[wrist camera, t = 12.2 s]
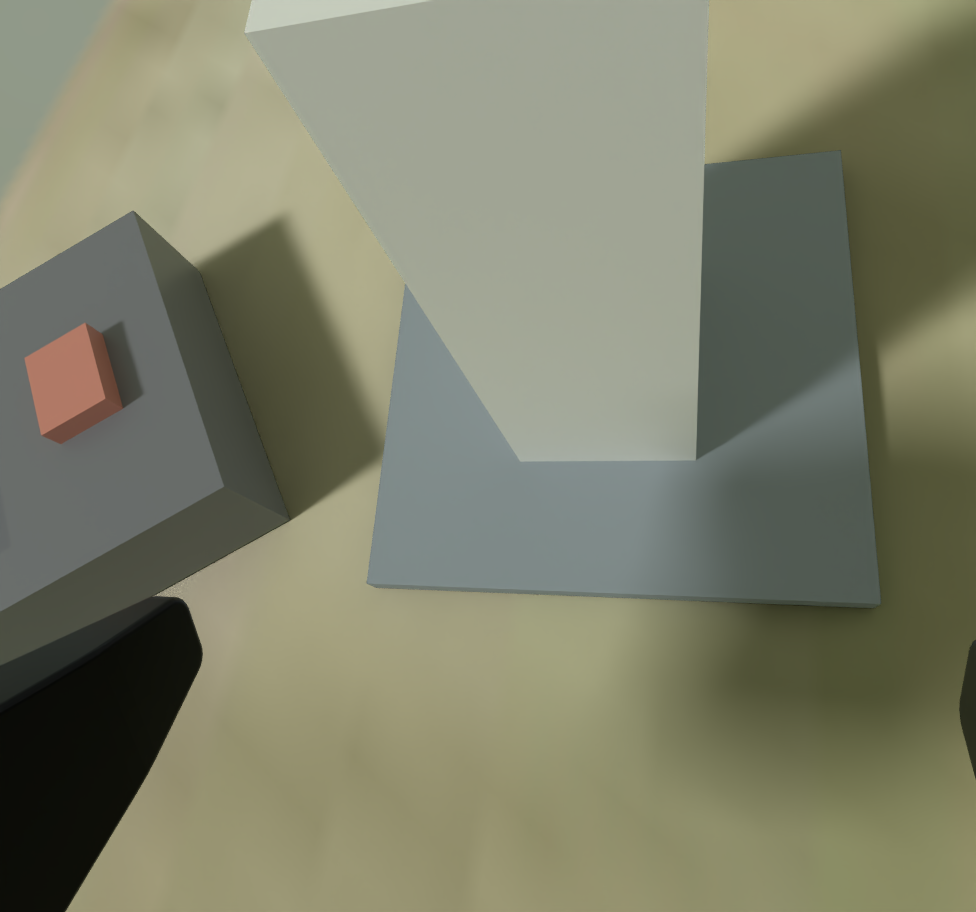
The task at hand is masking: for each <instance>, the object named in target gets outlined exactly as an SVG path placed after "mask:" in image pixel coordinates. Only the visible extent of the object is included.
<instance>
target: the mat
mask: <svg viewBox="0 0 976 912" xmlns="http://www.w3.org/2000/svg"><path fill="white" fill-rule="evenodd" d="M367 584H369V585H371V586H374V587H376V588H396V589H420V590H444V591H469V592H493V593H517V594H542V595H566V596H591V597H615V598H639V599H664V600H688V601H712V602H737V603H761V604H786V605H810V606H834V607H859V608H875V607H877V606H879V605H880V604H881V596H880V585H879V573H878V562H877V551H876V540H875V528H874V517H873V506H872V495H871V484H870V472H869V461H868V450H867V439H866V428H865V416H864V405H863V394H862V383H861V371H860V360H859V349H858V338H857V327H856V315H855V304H854V293H853V282H852V271H851V259H850V248H849V237H848V226H847V214H846V203H845V192H844V181H843V170H842V158H841V150H838V151H829V152H819V153H809V154H800V155H790V156H780V157H771V158H761V159H751V160H742V161H732V162H722V163H713V164H704V193H703V229H702V264H701V299H700V334H699V369H698V404H697V439H696V460H683V461H532V462H520V461H519V459H518V457H517V456H516V454H515V453H514V451H513V450H512V448H511V447H510V445H509V443H508V442H507V440H506V439H505V437H504V436H503V434H502V433H501V431H500V429H499V428H498V426H497V425H496V423H495V422H494V420H493V419H492V417H491V415H490V414H489V412H488V411H487V409H486V408H485V406H484V405H483V403H482V401H481V400H480V398H479V397H478V395H477V394H476V392H475V391H474V389H473V388H472V386H471V384H470V383H469V381H468V380H467V378H466V377H465V375H464V374H463V372H462V370H461V369H460V367H459V366H458V364H457V363H456V361H455V360H454V358H453V356H452V355H451V353H450V352H449V350H448V349H447V347H446V346H445V344H444V342H443V341H442V339H441V338H440V336H439V335H438V333H437V332H436V330H435V329H434V327H433V325H432V324H431V322H430V321H429V319H428V318H427V316H426V315H425V313H424V311H423V310H422V308H421V307H420V305H419V304H418V302H417V301H416V299H415V297H414V296H413V294H412V293H411V291H410V290H409V288H408V287H407V285H406V283H405V290H404V298H403V306H402V314H401V321H400V329H399V337H398V345H397V352H396V360H395V368H394V376H393V383H392V391H391V399H390V407H389V414H388V422H387V430H386V438H385V445H384V453H383V461H382V469H381V477H380V484H379V492H378V500H377V508H376V515H375V523H374V531H373V539H372V546H371V554H370V562H369V570H368V577H367Z"/></svg>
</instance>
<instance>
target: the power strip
mask: <svg viewBox="0 0 976 912" xmlns="http://www.w3.org/2000/svg"><path fill="white" fill-rule="evenodd" d="M289 520H290V519H289V516H288V513H287V511H286V508H285V505H284V502H283V500H282V497H281V494H280V491H279V489H278V486H277V483H276V480H275V478H274V475H273V472H272V469H271V467H270V464H269V461H268V458H267V456H266V453H265V450H264V447H263V445H262V442H261V439H260V436H259V434H258V431H257V428H256V425H255V423H254V420H253V417H252V414H251V412H250V409H249V406H248V403H247V401H246V398H245V395H244V393H243V390H242V387H241V384H240V382H239V379H238V376H237V373H236V371H235V368H234V365H233V362H232V360H231V357H230V354H229V351H228V349H227V346H226V343H225V340H224V338H223V335H222V332H221V329H220V327H219V324H218V321H217V318H216V316H215V313H214V310H213V307H212V305H211V302H210V299H209V296H208V294H207V291H206V288H205V285H204V283H203V280H202V277H201V274H200V272H199V271H198V270H197V269H196V268H195V267H194V266H193V265H192V264H191V263H190V262H189V261H188V260H186V259H185V258H184V257H183V256H182V255H181V254H180V253H179V252H178V251H177V250H176V249H175V248H173V247H172V246H171V245H170V244H169V243H168V242H167V241H166V240H165V239H164V238H163V237H162V236H160V235H159V234H158V233H157V232H156V231H155V230H154V229H153V228H152V227H151V226H150V225H149V224H147V223H146V222H145V221H144V220H143V219H142V218H141V217H140V216H139V215H138V214H137V213H136V212H134V211H131V212H130V213H128V214H126V215H125V216H123V217H121V218H119V219H118V220H116V221H114V222H113V223H111V224H109V225H108V226H106V227H104V228H103V229H101V230H99V231H97V232H96V233H94V234H92V235H91V236H89V237H87V238H86V239H84V240H82V241H81V242H79V243H77V244H76V245H74V246H72V247H70V248H69V249H67V250H65V251H64V252H62V253H60V254H59V255H57V256H55V257H54V258H52V259H50V260H48V261H47V262H45V263H43V264H42V265H40V266H38V267H37V268H35V269H33V270H32V271H30V272H28V273H26V274H25V275H23V276H21V277H20V278H18V279H16V280H15V281H13V282H11V283H10V284H8V285H6V286H5V287H3V288H1V289H0V665H2V664H5V663H7V662H9V661H11V660H13V659H15V658H18V657H20V656H22V655H24V654H26V653H29V652H31V651H33V650H35V649H37V648H39V647H42V646H44V645H46V644H48V643H50V642H53V641H55V640H57V639H59V638H61V637H63V636H66V635H68V634H70V633H72V632H74V631H77V630H79V629H81V628H83V627H85V626H87V625H90V624H92V623H94V622H96V621H98V620H101V619H103V618H105V617H107V616H109V615H111V614H114V613H116V612H118V611H120V610H122V609H125V608H127V607H129V606H131V605H133V604H135V603H138V602H140V601H142V600H144V599H146V598H149V597H151V596H153V595H155V594H157V593H159V592H160V591H162V590H164V589H166V588H168V587H169V586H171V585H173V584H175V583H177V582H179V581H180V580H182V579H184V578H186V577H188V576H189V575H191V574H193V573H195V572H197V571H199V570H200V569H202V568H204V567H206V566H208V565H209V564H211V563H213V562H215V561H217V560H218V559H220V558H222V557H224V556H226V555H228V554H229V553H231V552H233V551H235V550H237V549H238V548H240V547H242V546H244V545H246V544H247V543H249V542H251V541H253V540H255V539H257V538H258V537H260V536H262V535H264V534H266V533H267V532H269V531H271V530H273V529H275V528H276V527H278V526H280V525H282V524H284V523H286V522H287V521H289Z"/></svg>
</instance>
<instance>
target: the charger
mask: <svg viewBox="0 0 976 912" xmlns="http://www.w3.org/2000/svg"><path fill="white" fill-rule="evenodd" d="M708 18H709V0H252V3H251V7H250V11H249V15H248V20H247V24H246V28H245V32H244V33H245V35H246V37H247V38H248V40H249V41H250V43H251V44H252V46H253V47H254V49H255V51H256V52H257V54H258V55H259V57H260V58H261V60H262V61H263V63H264V65H265V66H266V68H267V69H268V71H269V72H270V74H271V75H272V77H273V79H274V80H275V82H276V83H277V85H278V86H279V88H280V89H281V91H282V92H283V94H284V96H285V97H286V99H287V100H288V102H289V103H290V105H291V106H292V108H293V110H294V111H295V113H296V114H297V116H298V117H299V119H300V120H301V122H302V124H303V125H304V127H305V128H306V130H307V131H308V133H309V134H310V136H311V138H312V139H313V141H314V142H315V144H316V145H317V147H318V148H319V150H320V151H321V153H322V155H323V156H324V158H325V159H326V161H327V162H328V164H329V165H330V167H331V169H332V170H333V172H334V173H335V175H336V176H337V178H338V179H339V181H340V183H341V184H342V186H343V187H344V189H345V190H346V192H347V193H348V195H349V197H350V198H351V200H352V201H353V203H354V204H355V206H356V207H357V209H358V210H359V212H360V214H361V215H362V217H363V218H364V220H365V221H366V223H367V224H368V226H369V228H370V229H371V231H372V232H373V234H374V235H375V237H376V238H377V240H378V242H379V243H380V245H381V246H382V248H383V249H384V251H385V252H386V254H387V256H388V257H389V259H390V260H391V262H392V263H393V265H394V266H395V268H396V270H397V271H398V273H399V274H400V276H401V277H402V279H403V280H404V282H405V283H406V285H407V287H408V288H409V290H410V291H411V293H412V294H413V296H414V297H415V299H416V301H417V302H418V304H419V305H420V307H421V308H422V310H423V311H424V313H425V315H426V316H427V318H428V319H429V321H430V322H431V324H432V325H433V327H434V329H435V330H436V332H437V333H438V335H439V336H440V338H441V339H442V341H443V342H444V344H445V346H446V347H447V349H448V350H449V352H450V353H451V355H452V356H453V358H454V360H455V361H456V363H457V364H458V366H459V367H460V369H461V370H462V372H463V374H464V375H465V377H466V378H467V380H468V381H469V383H470V384H471V386H472V388H473V389H474V391H475V392H476V394H477V395H478V397H479V398H480V400H481V401H482V403H483V405H484V406H485V408H486V409H487V411H488V412H489V414H490V415H491V417H492V419H493V420H494V422H495V423H496V425H497V426H498V428H499V429H500V431H501V433H502V434H503V436H504V437H505V439H506V440H507V442H508V443H509V445H510V447H511V448H512V450H513V451H514V453H515V454H516V456H517V457H518V459H519V461H520V462H532V461H683V460H696V439H697V404H698V369H699V334H700V299H701V264H702V229H703V193H704V158H705V123H706V88H707V53H708Z"/></svg>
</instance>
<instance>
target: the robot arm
mask: <svg viewBox="0 0 976 912" xmlns="http://www.w3.org/2000/svg"><path fill="white" fill-rule="evenodd" d="M202 656H203V652H202V646H201V643H200V640H199V637H198V634H197V631H196V628H195V625H194V622H193V619H192V616H191V614H190V611H189V608H188V606H187V604H186V603H185V602H184V601H183V600H182V599H180V598H177V597H160V596H154V597H149V598H146V599H144V600H142V601H140V602H138V603H135V604H133V605H131V606H129V607H127V608H125V609H122V610H120V611H118V612H116V613H114V614H111V615H109V616H107V617H105V618H103V619H101V620H98V621H96V622H94V623H92V624H90V625H87V626H85V627H83V628H81V629H79V630H77V631H74V632H72V633H70V634H68V635H66V636H63V637H61V638H59V639H57V640H55V641H53V642H50V643H48V644H46V645H44V646H42V647H39V648H37V649H35V650H33V651H31V652H29V653H26V654H24V655H22V656H20V657H18V658H15V659H13V660H11V661H9V662H7V663H5V664H2V665H0V912H65V911H66V910H67V908H68V906H69V905H70V903H71V901H72V900H73V898H74V897H75V895H76V893H77V892H78V890H79V888H80V887H81V885H82V883H83V882H84V880H85V878H86V877H87V875H88V873H89V872H90V870H91V868H92V867H93V865H94V863H95V862H96V860H97V858H98V857H99V855H100V853H101V852H102V850H103V848H104V847H105V845H106V843H107V842H108V840H109V838H110V837H111V835H112V834H113V832H114V830H115V829H116V827H117V825H118V824H119V822H120V820H121V819H122V817H123V815H124V814H125V812H126V810H127V809H128V807H129V805H130V804H131V802H132V800H133V799H134V797H135V795H136V794H137V792H138V790H139V789H140V787H141V785H142V783H143V782H144V780H145V778H146V776H147V775H148V773H149V771H150V769H151V767H152V765H153V763H154V761H155V759H156V757H157V755H158V753H159V751H160V749H161V747H162V745H163V743H164V741H165V739H166V737H167V735H168V733H169V731H170V729H171V726H172V724H173V722H174V720H175V718H176V716H177V714H178V712H179V710H180V708H181V706H182V704H183V702H184V700H185V698H186V696H187V694H188V691H189V689H190V687H191V685H192V683H193V681H194V679H195V677H196V675H197V673H198V671H199V669H200V666H201V662H202ZM959 711H960V720H961V726H962V730H963V734H964V737H965V741H966V745H967V749H968V752H969V756H970V760H971V763H972V767H973V771H974V775H975V778H976V640H975V641H973V643H972V645H971V647H970V650H969V654H968V660H967V665H966V670H965V676H964V681H963V686H962V691H961V697H960V706H959Z"/></svg>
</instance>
